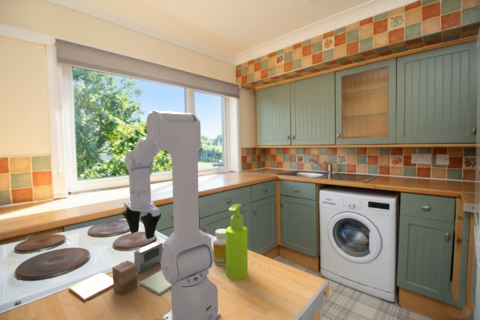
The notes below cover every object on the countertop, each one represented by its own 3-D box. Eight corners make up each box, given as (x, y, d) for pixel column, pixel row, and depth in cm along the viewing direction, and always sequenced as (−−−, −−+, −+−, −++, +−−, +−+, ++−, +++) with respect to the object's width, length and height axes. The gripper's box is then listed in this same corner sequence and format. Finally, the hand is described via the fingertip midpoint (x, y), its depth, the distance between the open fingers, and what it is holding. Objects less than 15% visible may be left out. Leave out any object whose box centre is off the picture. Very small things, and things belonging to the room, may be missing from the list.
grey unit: (163, 261, 74) (163, 242, 73) (140, 273, 67) (139, 253, 67) (157, 259, 75) (156, 240, 75) (134, 270, 69) (133, 250, 68)
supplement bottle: (228, 266, 71) (228, 235, 70) (211, 264, 72) (210, 233, 71) (232, 257, 76) (232, 228, 75) (216, 256, 77) (216, 227, 76)
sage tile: (184, 278, 65) (184, 276, 65) (159, 295, 58) (159, 292, 58) (164, 270, 69) (164, 268, 69) (139, 284, 62) (139, 282, 62)
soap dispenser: (221, 280, 64) (221, 207, 62) (230, 267, 70) (230, 200, 69) (243, 284, 62) (242, 209, 60) (249, 270, 69) (249, 202, 67)
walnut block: (137, 287, 61) (136, 264, 61) (122, 295, 58) (121, 272, 57) (128, 282, 64) (127, 260, 63) (113, 290, 60) (112, 267, 60)
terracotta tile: (118, 283, 63) (117, 281, 63) (84, 301, 56) (84, 298, 56) (102, 274, 67) (101, 272, 67) (69, 289, 60) (69, 287, 60)
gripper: (167, 191, 70) (169, 235, 71) (137, 185, 78) (139, 226, 79) (146, 196, 64) (148, 244, 66) (116, 189, 72) (119, 233, 73)
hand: (142, 235), depth 72 cm, fingers open, 7 cm apart
